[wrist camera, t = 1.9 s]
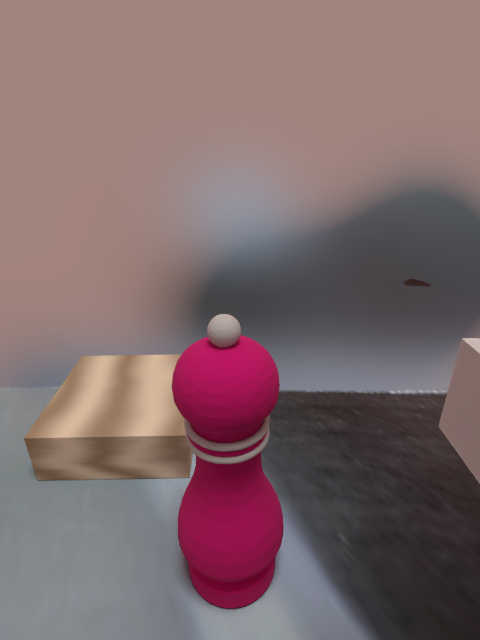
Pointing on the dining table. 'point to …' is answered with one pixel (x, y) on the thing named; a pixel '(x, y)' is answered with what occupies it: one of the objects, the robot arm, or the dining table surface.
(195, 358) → the pepper mill
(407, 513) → the dining table surface
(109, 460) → the birch block
